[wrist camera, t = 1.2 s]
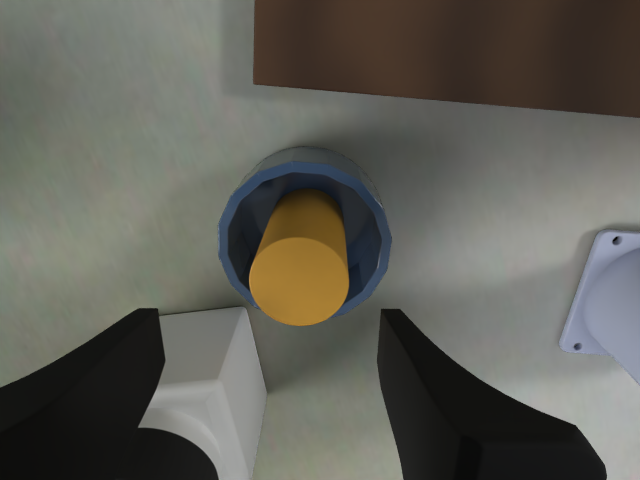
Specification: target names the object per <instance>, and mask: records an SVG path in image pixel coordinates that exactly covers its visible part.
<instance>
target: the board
mask: <svg viewBox="0 0 640 480" xmlns="http://www.w3.org/2000/svg"><path fill="white" fill-rule="evenodd" d="M253 84H256V85H267V86H279V87H290V88H302V89H313V90H325V91H337V92H348V93H360V94H371V95H383V96H394V97H406V98H417V99H429V100H440V101H452V102H463V103H475V104H487V105H498V106H510V107H521V108H533V109H544V110H556V111H567V112H579V113H590V114H602V115H614V116H625V117H637V118H640V0H255V16H254V64H253Z"/></svg>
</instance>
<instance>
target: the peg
mask: <svg viewBox="0 0 640 480" xmlns="http://www.w3.org/2000/svg"><path fill="white" fill-rule="evenodd" d="M249 285H250V290H251V293H252V296H253V298H254V300H255V302H256V303H257V305H258V306H259V307H260V308H261V310H262V311H263V312H265V313H266V314H267V315H268V316H270V317H271V318H273V319H275V320H277V321H279V322H282V323H284V324H288V325H295V326H306V325H312V324H316V323H319V322H322V321H324V320H326V319H328V318H329V317H331V316H332V315H333V314H334V313H336V312H337V311H338V310H339V308H340V307H341V306H342V304H343V303H344V301H345V299H346V296H347V294H348V289H349V274H348V263H347V252H346V240H345V229H344V218H343V214H342V211H341V209H340V207H339V205H338V204H337V203H336V201H335V200H334V199H333V198H332V197H330V196H329V195H328V194H326V193H324V192H322V191H320V190H316V189H310V188H304V189H298V190H294V191H292V192H289V193H288V194H286V195H285V196H283V197H282V198H281V199H280V200H279V201H278V202H277V204H276V205H275V207H274V209H273V212H272V214H271V217H270V220H269V222H268V225H267V227H266V230H265V233H264V235H263V238H262V240H261V243H260V246H259V248H258V251H257V253H256V256H255V259H254V261H253V264H252V266H251V270H250V274H249Z"/></svg>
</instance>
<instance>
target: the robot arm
mask: <svg viewBox="0 0 640 480" xmlns="http://www.w3.org/2000/svg"><path fill="white" fill-rule="evenodd" d="M617 236H618V239H617V240H616V241H615V242H612V240H613V239H614V238H615V237H617ZM577 343H579V344H578V345H577V346H574V345H575V344H577ZM559 346H560V348H561V349H562V350H563V351H565V352H571V353H584V354H596V355H609V356H612V357H613V358H614V359H615V360H616V361H617V362H618V363H619V364H620V365H621V366H622V368H623V369H624V370H625V371H626V372H627V373H628V374H629V375H630V376H631V377H632V378H633V379H634V380H635V381H636V382H637V383H638V384H639V385H640V232H635V231H623V230H612V229H604V230H602V231H600V232H599V233H598V234H597V235H596V237H595V240H594V243H593V246H592V249H591V252H590V254H589V257H588V260H587V263H586V266H585V269H584V272H583V275H582V277H581V280H580V283H579V286H578V289H577V292H576V295H575V298H574V300H573V303H572V306H571V309H570V312H569V315H568V318H567V321H566V323H565V326H564V329H563V332H562V335H561V338H560V341H559ZM165 361H166V359H165V352H164V346H163V339H162V333H161V326H160V320H159V313H158V308H139V309H137V310H135V311H133V312H132V313H130V314H128V315H127V316H125V317H124V318H122V319H121V320H119V321H118V322H116V323H115V324H113V325H112V326H110V327H109V328H107V329H106V330H104V331H103V332H101V333H100V334H98V335H97V336H95V337H94V338H92V339H91V340H89V341H88V342H86V343H84V344H83V345H81V346H80V347H78V348H76V349H75V350H73V351H71V352H70V353H68V354H66V355H65V356H63V357H62V358H60V359H58V360H56V361H55V362H53V363H51V364H49V365H47V366H45V367H43V368H41V369H39V370H37V371H35V372H34V373H32V374H30V375H28V376H26V377H23V378H21V379H19V380H17V381H15V382H12V383H10V384H8V385H5V386H3V387H1V388H0V480H115V478H116V476H117V473H118V470H119V467H120V465H121V462H122V460H123V458H124V455H125V453H126V451H127V449H128V447H129V445H130V443H131V441H132V439H133V437H134V435H135V432H136V430H137V428H138V426H139V424H140V422H141V420H142V418H143V416H144V414H145V412H146V410H147V408H148V406H149V404H150V402H151V400H152V398H153V395H154V393H155V391H156V389H157V386H158V383H159V380H160V378H161V374H162V371H163V368H164V365H165ZM377 364H378V372H379V379H380V385H381V390H382V394H383V398H384V402H385V405H386V409H387V413H388V416H389V420H390V424H391V427H392V431H393V434H394V438H395V442H396V445H397V449H398V453H399V458H400V462H401V467H402V473H403V479H404V480H606V479H607V473H606V468H605V465H604V463H603V462H602V460H601V459H600V457H599V456H598V455H597V453H596V452H595V450H594V449H593V447H592V446H591V444H590V443H589V441H588V440H587V439H586V438H585V436H584V435H583V434H582V432H581V431H580V430H579V429H578V428H577V426H576V425H573V424H571V423H568V422H566V421H563V420H561V419H558V418H556V417H553V416H550V415H548V414H545V413H543V412H540V411H538V410H536V409H534V408H532V407H530V406H527V405H525V404H523V403H521V402H519V401H517V400H515V399H513V398H511V397H509V396H507V395H505V394H504V393H502V392H500V391H498V390H497V389H495V388H493V387H492V386H490V385H488V384H486V383H485V382H483V381H482V380H480V379H479V378H477V377H476V376H474V375H473V374H471V373H470V372H468V371H467V370H466V369H464V368H463V367H461V366H460V365H459V364H457V363H456V362H455V361H454V360H452V359H451V358H450V357H449V356H448V355H446V354H445V353H444V352H443V351H442V350H440V349H439V348H438V347H437V346H436V345H435V344H434V343H433V342H432V341H431V340H430V339H429V338H428V337H426V336H425V335H424V334H423V333H422V332H421V331H420V330H419V328H418V327H417V326H416V325H415V324H414V323H413V322H412V321H411V320H410V319H409V318H408V317H407V316H406V315H405V314H404V313H403V312H402V311H401V310H400V309H381V317H380V329H379V342H378V355H377Z"/></svg>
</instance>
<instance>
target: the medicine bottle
mask: <svg viewBox="0 0 640 480" xmlns="http://www.w3.org/2000/svg"><path fill="white" fill-rule="evenodd" d="M159 320H160V326H161V333H162V339H163V346H164V352H165V359H166V361H165V365H164V368H163V371H162V374H161V378H160V380H159V383H158V386H157V389H156V391H155V393H154V395H153V398H152V400H151V402H150V404H149V406H148V408H147V410H146V412H145V414H144V416H143V418H142V420H141V422H140V424H139V426H138V428H137V430H136V432H135V435H134V437H133V439H132V441H131V443H130V445H129V447H128V449H127V451H126V453H125V455H124V458H123V460H122V462H121V465H120V467H119V470H118V473H117V476H116V478H115V480H252V474H253V469H254V464H255V459H256V453H257V448H258V443H259V437H260V432H261V427H262V421H263V416H264V411H265V406H266V400H267V391H266V387H265V383H264V379H263V375H262V370H261V366H260V362H259V358H258V354H257V350H256V346H255V342H254V337H253V333H252V329H251V325H250V321H249V317H248V313H247V310H246V308H245V307H232V308H224V309H215V310H207V311H198V312H189V313H181V314H172V315H164V316H159Z"/></svg>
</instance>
